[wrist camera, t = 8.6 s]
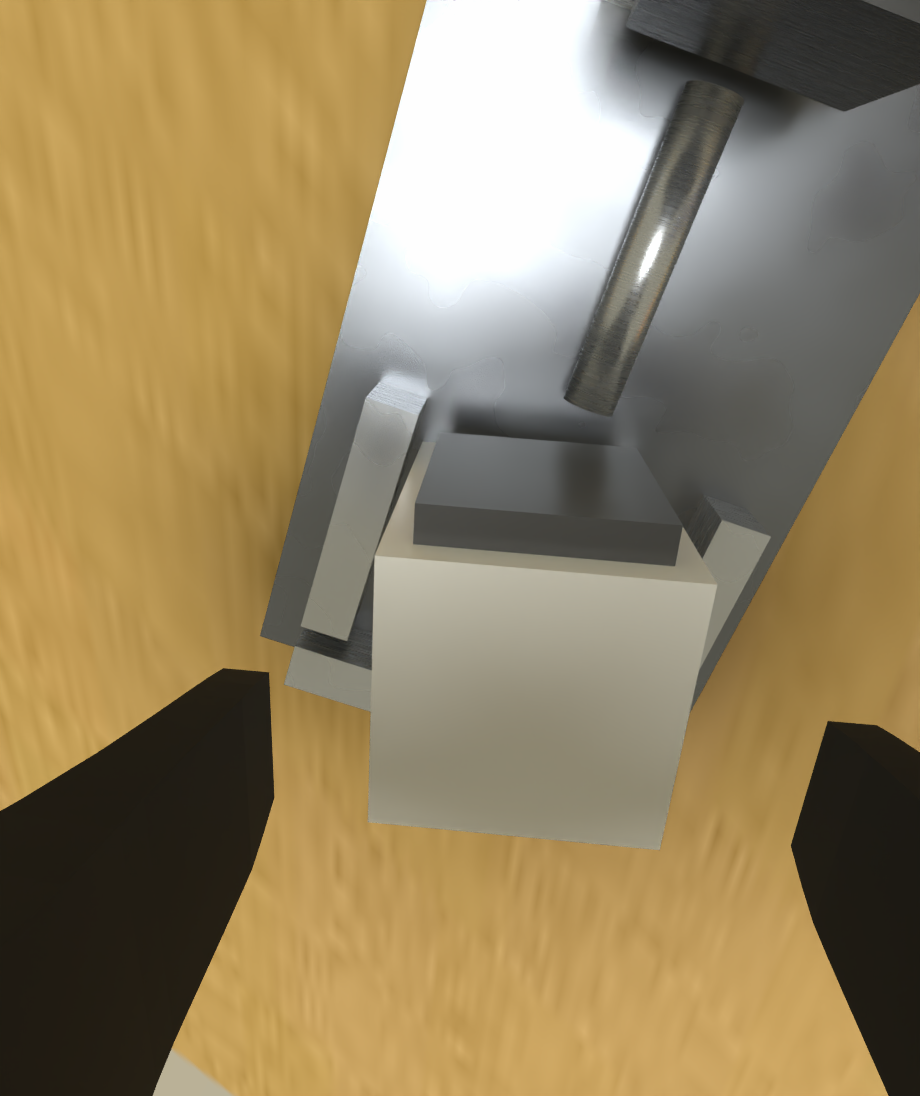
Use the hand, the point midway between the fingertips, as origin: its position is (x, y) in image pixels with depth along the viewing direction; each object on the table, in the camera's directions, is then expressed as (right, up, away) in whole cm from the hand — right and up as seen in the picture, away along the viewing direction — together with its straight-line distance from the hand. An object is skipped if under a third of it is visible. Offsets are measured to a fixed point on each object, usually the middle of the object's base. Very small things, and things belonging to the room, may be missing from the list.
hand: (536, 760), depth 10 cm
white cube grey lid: (0, +3, +6) cm, 7 cm away
